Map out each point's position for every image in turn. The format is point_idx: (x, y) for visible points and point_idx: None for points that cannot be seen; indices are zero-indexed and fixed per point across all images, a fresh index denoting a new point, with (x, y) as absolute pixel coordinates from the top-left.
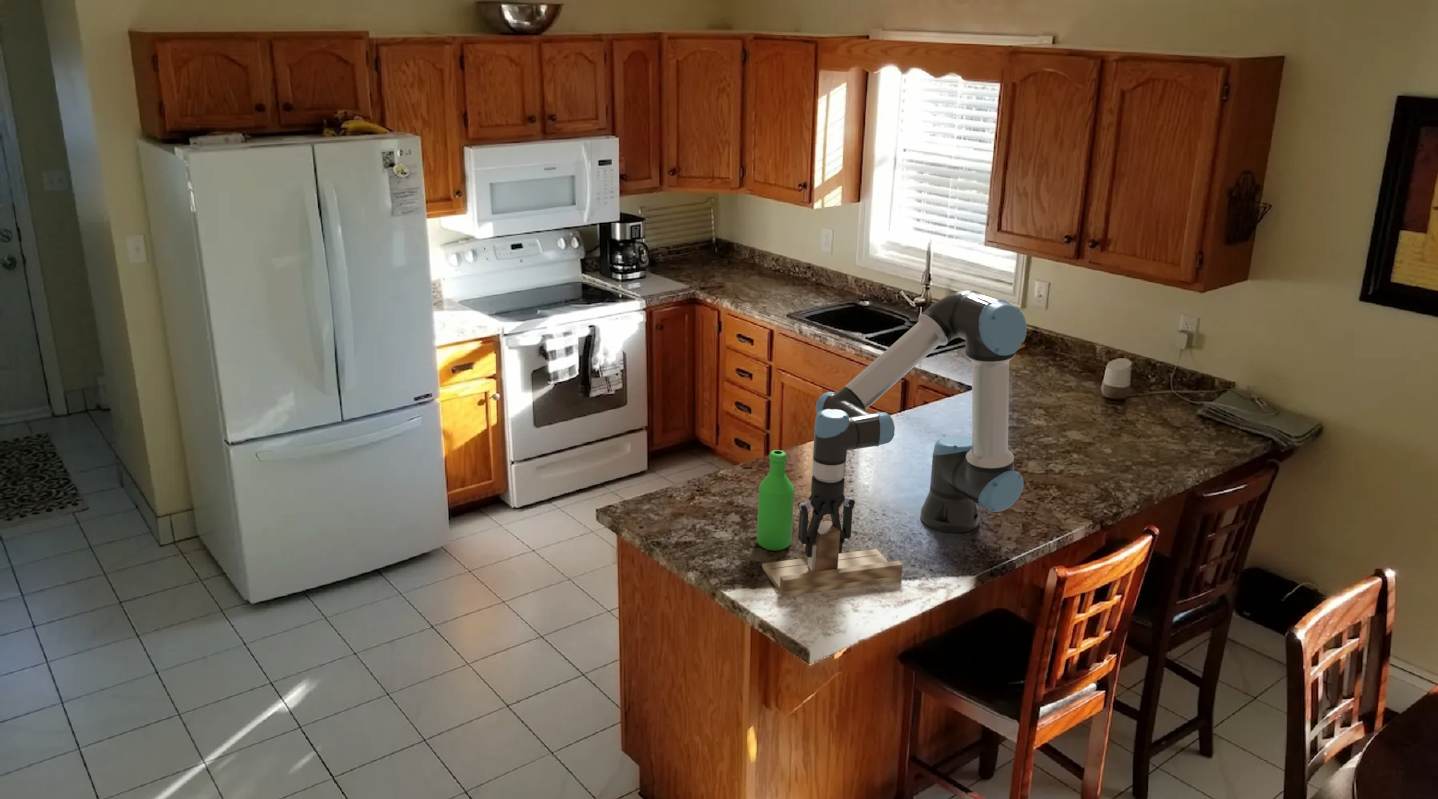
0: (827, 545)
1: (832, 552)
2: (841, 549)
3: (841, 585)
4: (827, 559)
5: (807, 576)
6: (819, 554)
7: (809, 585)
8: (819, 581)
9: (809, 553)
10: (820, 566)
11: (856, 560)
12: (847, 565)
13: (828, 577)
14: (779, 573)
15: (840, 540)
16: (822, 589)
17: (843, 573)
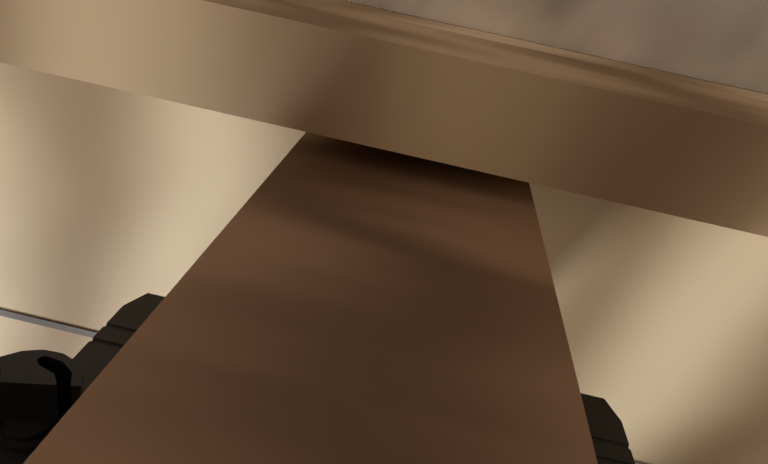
0: (405, 398)
1: (319, 275)
2: (118, 320)
3: (335, 4)
4: (412, 238)
5: (760, 145)
6: (552, 326)
7: (698, 93)
8: (592, 71)
9: (596, 435)
10: (507, 221)
11: (22, 282)
12: (122, 255)
13: (485, 54)
14: (712, 408)
15: (55, 420)
16: (537, 44)
17: (287, 15)
